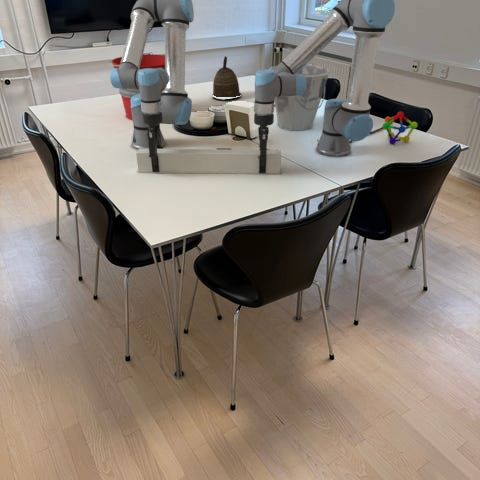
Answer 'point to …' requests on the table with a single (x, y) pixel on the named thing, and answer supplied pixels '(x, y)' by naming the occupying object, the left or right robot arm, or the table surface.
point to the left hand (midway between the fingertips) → (157, 168)
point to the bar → (209, 161)
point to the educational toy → (398, 128)
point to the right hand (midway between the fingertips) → (262, 169)
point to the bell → (225, 82)
